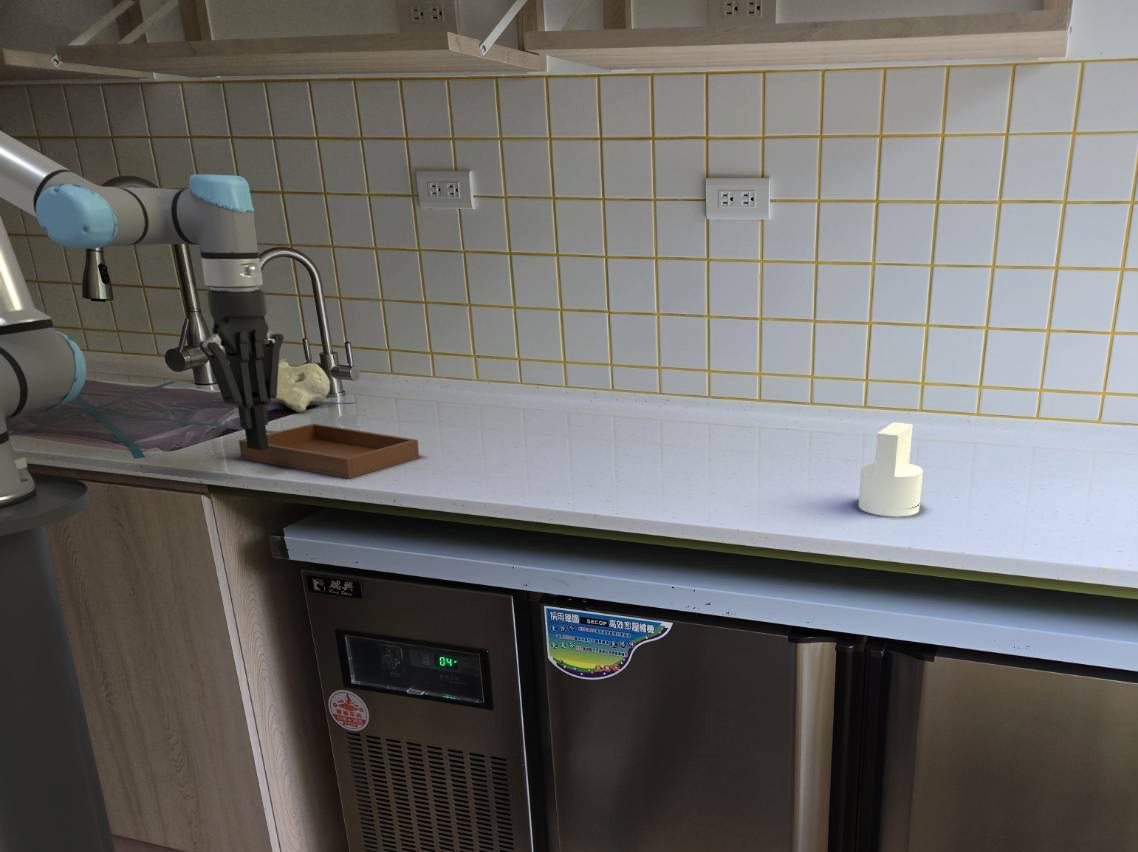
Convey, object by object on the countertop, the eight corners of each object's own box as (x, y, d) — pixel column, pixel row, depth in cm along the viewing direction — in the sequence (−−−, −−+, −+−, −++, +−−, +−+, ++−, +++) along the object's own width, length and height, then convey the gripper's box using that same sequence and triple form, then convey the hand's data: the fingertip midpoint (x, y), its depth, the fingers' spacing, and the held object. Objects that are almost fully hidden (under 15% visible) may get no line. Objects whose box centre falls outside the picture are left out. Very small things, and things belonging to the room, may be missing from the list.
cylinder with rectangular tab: (910, 519, 141) (918, 438, 137) (850, 510, 144) (856, 430, 140) (925, 504, 148) (933, 426, 144) (868, 495, 152) (874, 419, 148)
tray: (349, 478, 152) (346, 459, 151) (241, 458, 161) (238, 440, 160) (419, 457, 165) (417, 439, 164) (316, 440, 174) (314, 423, 173)
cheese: (340, 420, 199) (341, 365, 206) (319, 399, 192) (321, 342, 200) (271, 441, 200) (274, 385, 208) (248, 420, 194) (252, 363, 201)
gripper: (213, 293, 134) (238, 460, 142) (290, 287, 146) (310, 442, 154) (176, 290, 137) (203, 453, 145) (254, 284, 148) (275, 437, 156)
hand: (258, 447), depth 149 cm, fingers closed
